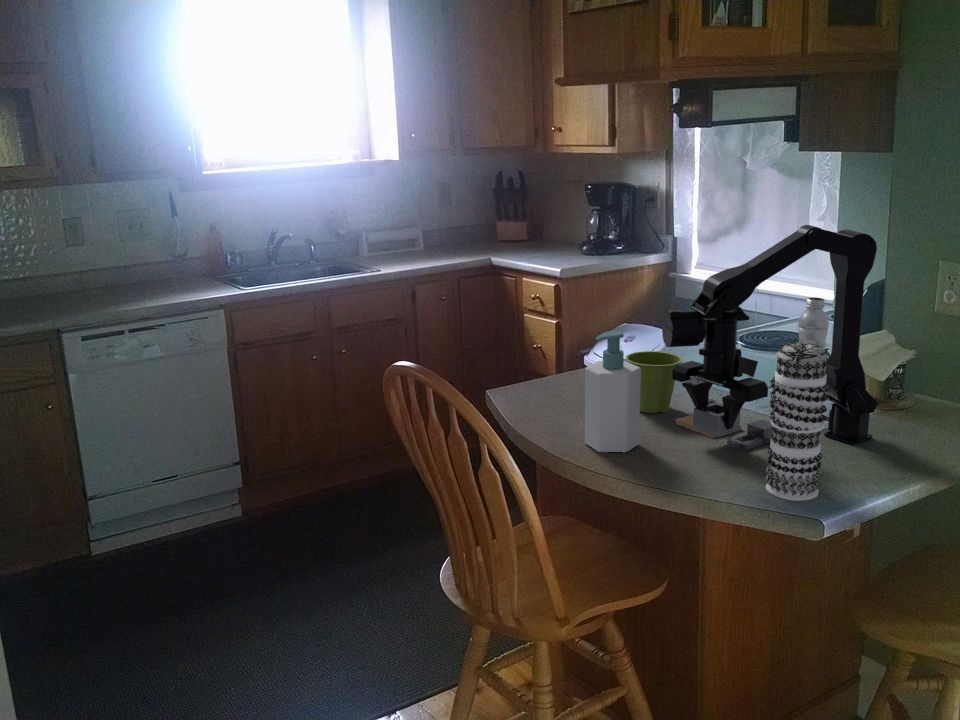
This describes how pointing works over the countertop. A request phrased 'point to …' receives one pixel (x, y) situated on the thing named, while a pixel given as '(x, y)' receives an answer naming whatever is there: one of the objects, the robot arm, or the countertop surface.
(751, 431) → the dark clasp block
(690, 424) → the tan board with knob
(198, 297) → the countertop surface
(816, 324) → the plastic bottle
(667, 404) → the plant pot
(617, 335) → the soap bottle
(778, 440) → the decorative candle
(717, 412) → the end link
